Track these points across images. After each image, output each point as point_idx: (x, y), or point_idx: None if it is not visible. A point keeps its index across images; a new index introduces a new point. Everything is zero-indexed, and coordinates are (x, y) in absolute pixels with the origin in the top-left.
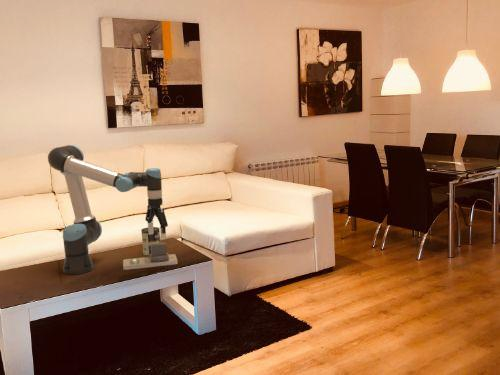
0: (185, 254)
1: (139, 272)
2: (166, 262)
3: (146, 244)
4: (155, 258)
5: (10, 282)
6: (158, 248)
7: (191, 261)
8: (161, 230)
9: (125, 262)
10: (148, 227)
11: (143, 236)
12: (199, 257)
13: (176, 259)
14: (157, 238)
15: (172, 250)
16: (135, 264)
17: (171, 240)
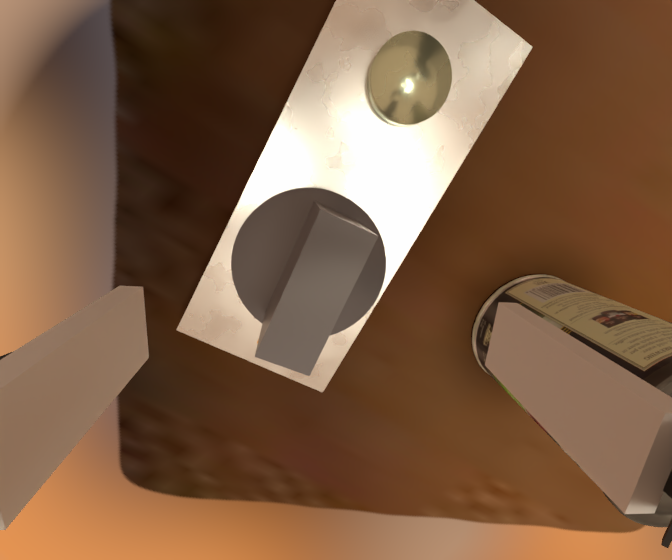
0: (326, 447)
1: (211, 6)
2: (211, 259)
3: (568, 308)
4: (263, 202)
5: None
6: (289, 271)
7: (169, 404)
8: (3, 372)
9: (452, 11)
10: (587, 354)
11: (661, 328)
12: (207, 472)
13: (201, 336)
14: None
15: (458, 434)
16: (335, 41)
17: (613, 515)
